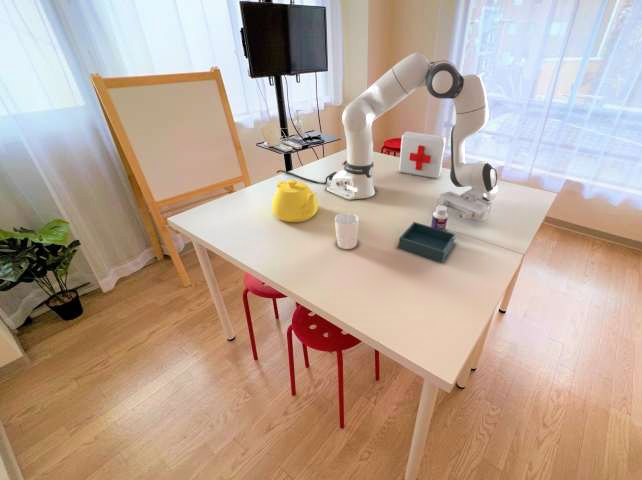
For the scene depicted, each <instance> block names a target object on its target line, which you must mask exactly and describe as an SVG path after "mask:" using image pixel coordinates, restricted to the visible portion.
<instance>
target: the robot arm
mask: <svg viewBox="0 0 642 480" xmlns="http://www.w3.org/2000/svg"><path fill="white" fill-rule="evenodd" d="M422 87H425V88H426V89H427V91H428V93H429V94H430V95H431V96H432V97H434V98H436V99H440V100H443V99H445V100H446V99H450V100H451V99H452V101H453V103H454V108H455V109H454V110H455V124H454V126H452V128H451V132H450V165H451V166H450V174H449V178H450V181H451V183H452V184H453V185H454V186H455V187H456V188H465V187H469V188H470V187H471V188H470V189H468V190H466V191H464V192H462V193H461V194H458V193H455V192H452V191H447V192H443V193H440V194H438V196H437V204H438V205H442V206H445V207H447V209H449V210H452V211H454V212H456V213H459V215H460V216H459V218H460V219H462V220H465V219H473V220H475V221H477V222H483V221H484V220H486V219H487V217H488V216H489V215H490V213H491V209H492V204H493V201H494V200H495V199H496V197H498V193H499V188H498V185H497V184H498V183H497V182H498V173H497V169H496V167H495V166H494V165H493V164H492V163H491V162H466V160H465V142H466V140H467V139H468V138H469V137H471V136H473V135H475V134H476V133H478V132H480V131H481V130H482V129H483V128H484V127H485V126H486V124H487V123H488V119H489V107H488V106H489V105H488V99H487V93H486V90H485V89H486V88H485V86H484V83H483V80H482V78H481V76H480V75H477V74H473V73H471V74H466V75H461V73H460V72H459V70H458V68H457V66H456V65H455V64H454V63H453V62H452V61H449V60H438V61H431V62H430V61H429V60H428V59H427V57H426V56H425V55H424V54H423V53H421V52H418V51H417V52H416V51H415V52H413V53H411V54H409V55H407V56H406V57H404V58H402V59H401V60H400V61H398V62H396V64H394V65H393V66H392V67H391V68H390V69H388V71H386V72H385V73H384V74H383V75H381V76H380V77H379V78H378V79H377V80H376V81H375V82H374V83H372V84H371V85H370V86H369V87H368V88H366V89H365V90H364V91H363V92H361V94H360V95H358V96H357V97H356V98H354V99H353V100H352V101H351V102H350V103H348V104H347V105H346V107H345V108H344V110H343V112H342V118H341V122H342V125H343V130H344V135H345V140H346V160H344V161H343V162H342V163H341V166H342V167H343V168H341V169H340V170H338V172H337V171H333V172H332V173H330V174H329V175H327V176H326V178H325V182H319V181H317V180H314V179H309V178H305V177H303V176H300V175H297V174H295V173H293V172H290V171H286V170H283V169H279V170H276V174H278V173H280V172H281V173H284V174H288V175H291V176H294V177H296V178H299V179H301V180H304V181H308V182H312V183H314V184H319V185H320V184H321V185H326V184H327V183H328V180H329V181H331V183H329V184H328V185H327V186H326V191H328V192H330V193H332V194H335V195H336V196H339V197H341V198H344V199H345V200H349V201H350V200H351V201H352V200H357V199H358V200H359V199H360V200H361V199H367V198H368V199H369V198H371V197H373V196H374V195H375V194H376V190H375V186H374V185H375V184H374V177H373V175H374V159H373V158H374V142H373V132H372V131H373V129H372V128H373V127H372V126H373V122H374V121H375V120H377V119H379V118H380V117H381V116H383V115H384V114H385V113H387V112H388V111H390V110H391V109H393V108H394V107H396V106H397V105H398V104H399V103H401V102H402V101H403V100H405V99H406V98H407V97H408V96H410V95H411V94H412V93H413V92H415V91H416V90H417V89H419V88H422Z"/></svg>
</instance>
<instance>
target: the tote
mask: <svg viewBox="0 0 642 480" xmlns="http://www.w3.org/2000/svg"><path fill="white" fill-rule="evenodd" d="M456 236H457V234H456V233H453V232H450V231H446V230H445V231H443V230H440V229H436V228H433V227H431V225H430V226H429V225H427V224H422V223H419V222H416V221H413V222H412V223H411V224H410V226H409V227H408V228H406V230H405V231H404V232H403V233H402V234H401V235H400V236H399V237H398V247H397V248H398V249H399V250H400V249H401V250H403V251H406V252H409V253H412V254H415V255H417V256H421V257H424V258H426V259H430V260H433V261H435V262H436V261H437V262H438V263H443V262H444V261H445V259H446V257H447V256H448V254H449V252H450V251H451V250H452V247H453V246H454V244H455V239H456Z"/></svg>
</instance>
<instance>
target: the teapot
mask: <svg viewBox="0 0 642 480" xmlns="http://www.w3.org/2000/svg"><path fill="white" fill-rule="evenodd" d="M276 187H277V189H276V191H275V193H274V196H273V198H272V201H271V211H272V213H273V215H274V216H275V217H277V218H278V219H279V220H281V221H283V222H286V223H300V222H305V221H307V220H310V219H311V218H313V216H315V214H316V213H317V212H318V210H319V203H318V199H317V197H316V194H317V193H316V192H313V190H312V189H311V188H310V187H309V185H307V184H306V183H305V182H303V181H298V180H297V179H289V180H287V181H284V180H280V181H278V182H277V183H276Z"/></svg>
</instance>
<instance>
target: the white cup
mask: <svg viewBox="0 0 642 480" xmlns="http://www.w3.org/2000/svg"><path fill="white" fill-rule="evenodd" d="M359 219H360V218H359V216H358V215H356V214H355V213H353V212H342V213H339V214H336V216H335V217H334V225H335V226H334V227H335V235H336V243H337V246H338V247H339V248H340V249H343V250H351V249H354V248H355V247H357V244H358V237H359V236H358V235H359V224H360V223H359Z"/></svg>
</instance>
